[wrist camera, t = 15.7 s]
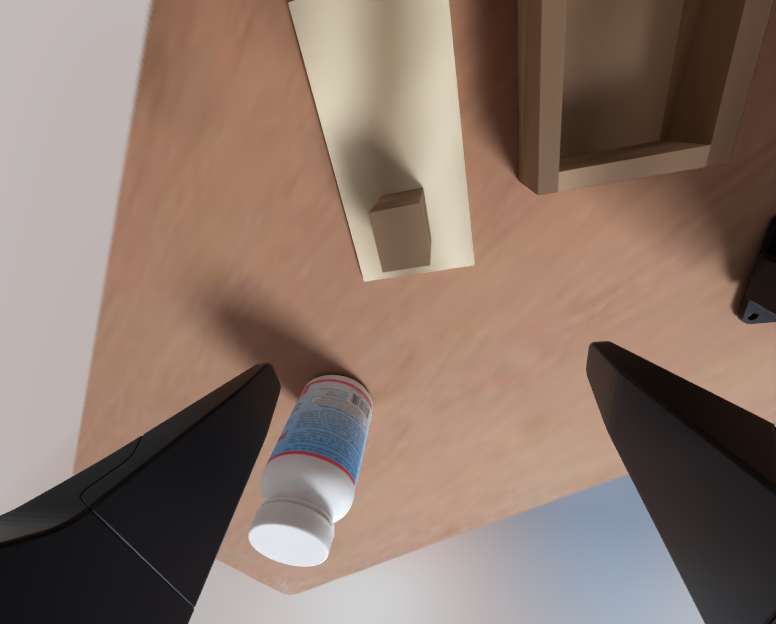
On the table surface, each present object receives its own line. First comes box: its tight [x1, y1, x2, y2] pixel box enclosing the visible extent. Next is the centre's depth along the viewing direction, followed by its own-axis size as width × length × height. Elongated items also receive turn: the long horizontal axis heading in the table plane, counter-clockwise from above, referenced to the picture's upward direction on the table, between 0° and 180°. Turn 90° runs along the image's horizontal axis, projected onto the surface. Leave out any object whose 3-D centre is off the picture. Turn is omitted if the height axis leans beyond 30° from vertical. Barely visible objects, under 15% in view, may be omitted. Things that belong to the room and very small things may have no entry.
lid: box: [288, 0, 474, 281], centre depth 16 cm, size 7×14×5 cm, turn 12°
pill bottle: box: [248, 375, 373, 567], centre depth 23 cm, size 6×6×11 cm
